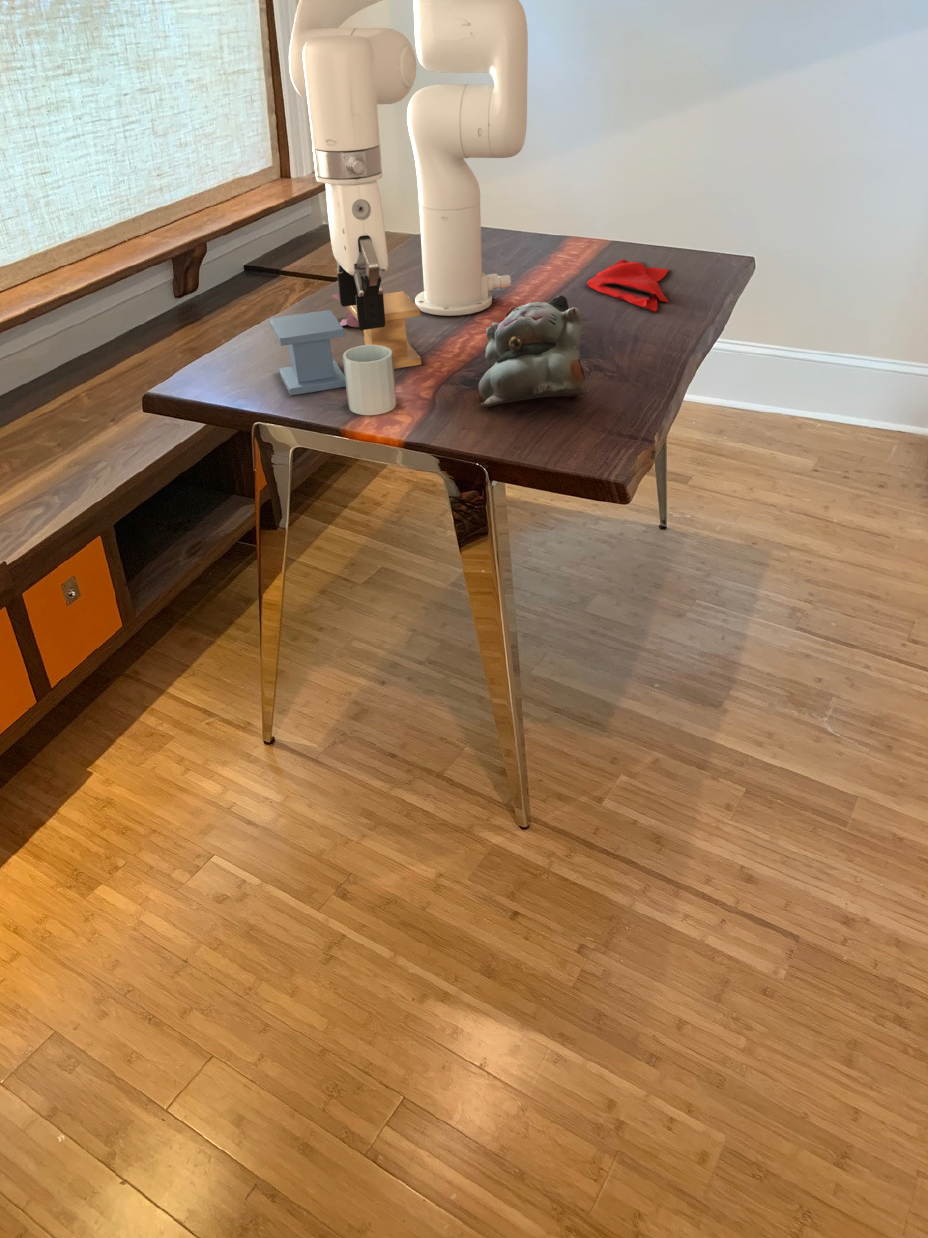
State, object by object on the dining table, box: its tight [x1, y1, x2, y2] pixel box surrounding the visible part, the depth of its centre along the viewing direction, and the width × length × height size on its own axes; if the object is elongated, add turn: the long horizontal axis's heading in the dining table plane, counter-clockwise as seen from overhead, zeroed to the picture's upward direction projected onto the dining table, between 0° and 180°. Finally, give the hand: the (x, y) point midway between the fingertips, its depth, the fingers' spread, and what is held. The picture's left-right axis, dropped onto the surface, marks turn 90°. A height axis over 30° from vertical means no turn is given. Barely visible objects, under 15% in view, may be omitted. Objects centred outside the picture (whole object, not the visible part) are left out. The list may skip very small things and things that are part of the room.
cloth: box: [586, 258, 669, 312], centre depth 159 cm, size 26×14×2 cm, turn 169°
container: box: [342, 344, 397, 416], centre depth 122 cm, size 6×6×7 cm
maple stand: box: [347, 290, 422, 370], centre depth 135 cm, size 8×8×8 cm
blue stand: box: [268, 309, 346, 396], centre depth 129 cm, size 8×8×8 cm
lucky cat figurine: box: [478, 295, 587, 409], centre depth 121 cm, size 15×12×14 cm
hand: (362, 315), depth 117 cm, fingers open, 9 cm apart
